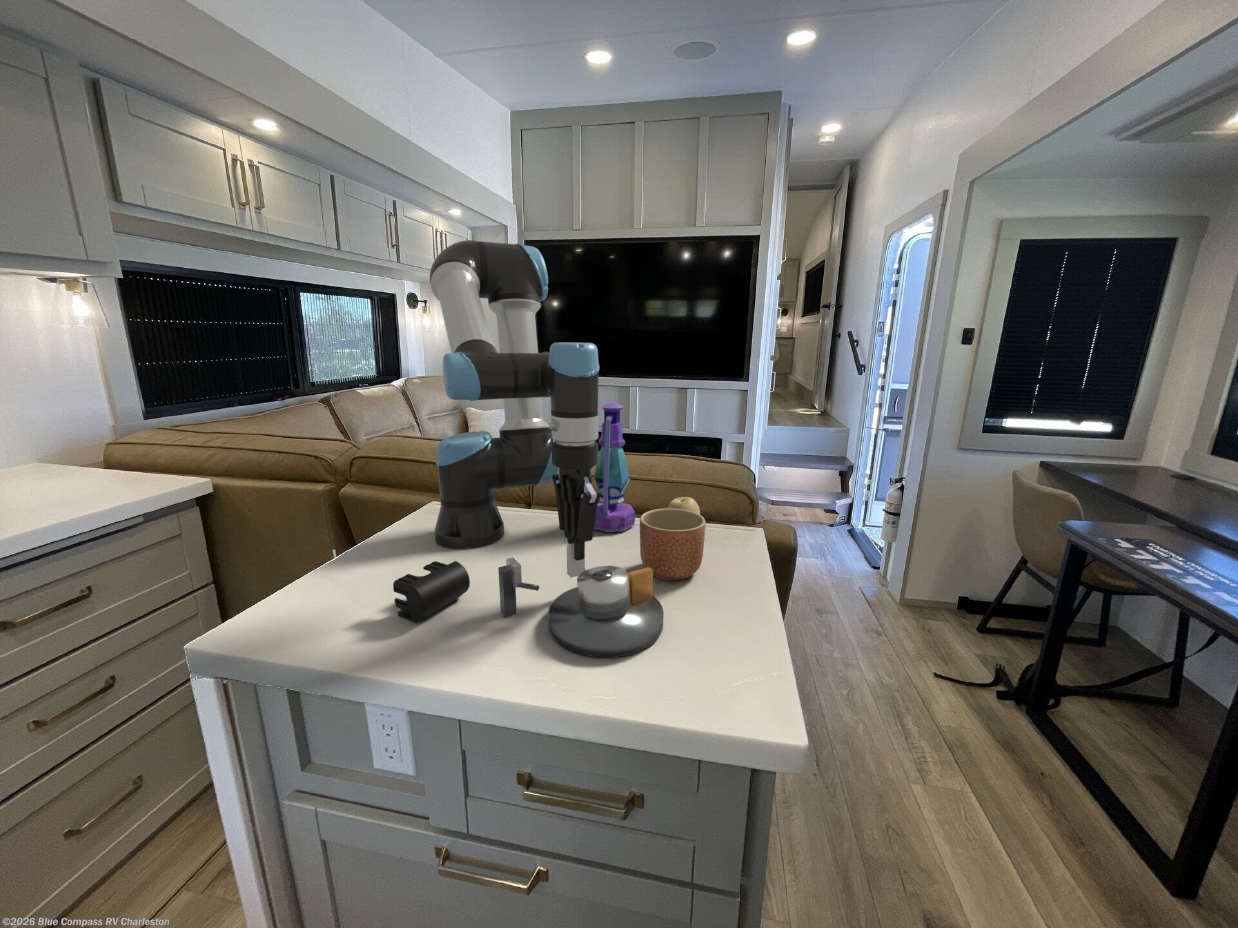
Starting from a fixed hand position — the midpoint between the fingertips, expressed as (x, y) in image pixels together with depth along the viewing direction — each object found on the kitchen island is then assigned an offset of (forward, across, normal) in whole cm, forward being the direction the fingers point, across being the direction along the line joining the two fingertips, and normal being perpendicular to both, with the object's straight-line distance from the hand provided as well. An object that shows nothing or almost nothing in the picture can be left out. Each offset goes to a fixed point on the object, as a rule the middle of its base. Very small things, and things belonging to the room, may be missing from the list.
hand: (575, 573), depth 85 cm
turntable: (+4, +10, 0) cm, 11 cm away
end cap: (+5, -9, -22) cm, 24 cm away
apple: (+5, -16, +38) cm, 42 cm away
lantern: (+5, -26, +23) cm, 35 cm away
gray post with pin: (+4, +1, -11) cm, 11 cm away
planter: (+4, +1, +20) cm, 20 cm away
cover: (+1, +10, 0) cm, 10 cm away
